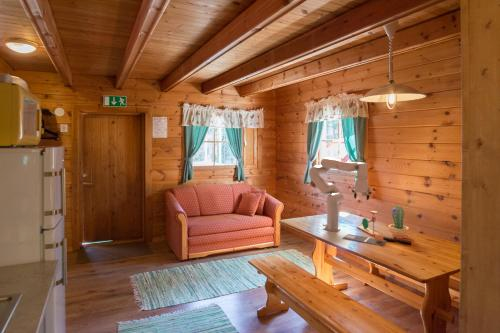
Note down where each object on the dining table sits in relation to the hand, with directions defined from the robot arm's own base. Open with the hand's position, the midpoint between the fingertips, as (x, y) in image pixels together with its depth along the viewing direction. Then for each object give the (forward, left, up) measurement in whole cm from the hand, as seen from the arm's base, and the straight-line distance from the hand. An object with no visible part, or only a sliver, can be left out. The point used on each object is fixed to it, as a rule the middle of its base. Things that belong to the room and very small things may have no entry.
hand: (361, 199), depth 272 cm
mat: (+6, -10, -30) cm, 32 cm away
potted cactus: (+26, +15, -31) cm, 43 cm away
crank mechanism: (+2, +16, -31) cm, 34 cm away
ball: (+17, -10, -27) cm, 33 cm away
